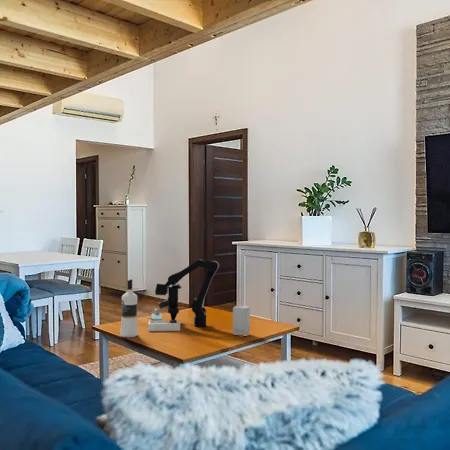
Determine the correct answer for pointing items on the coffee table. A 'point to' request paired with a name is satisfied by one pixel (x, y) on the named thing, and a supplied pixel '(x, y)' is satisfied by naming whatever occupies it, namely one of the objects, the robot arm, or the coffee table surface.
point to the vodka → (129, 313)
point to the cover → (156, 315)
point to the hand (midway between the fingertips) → (172, 322)
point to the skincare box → (241, 320)
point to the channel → (163, 326)
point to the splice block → (173, 321)
